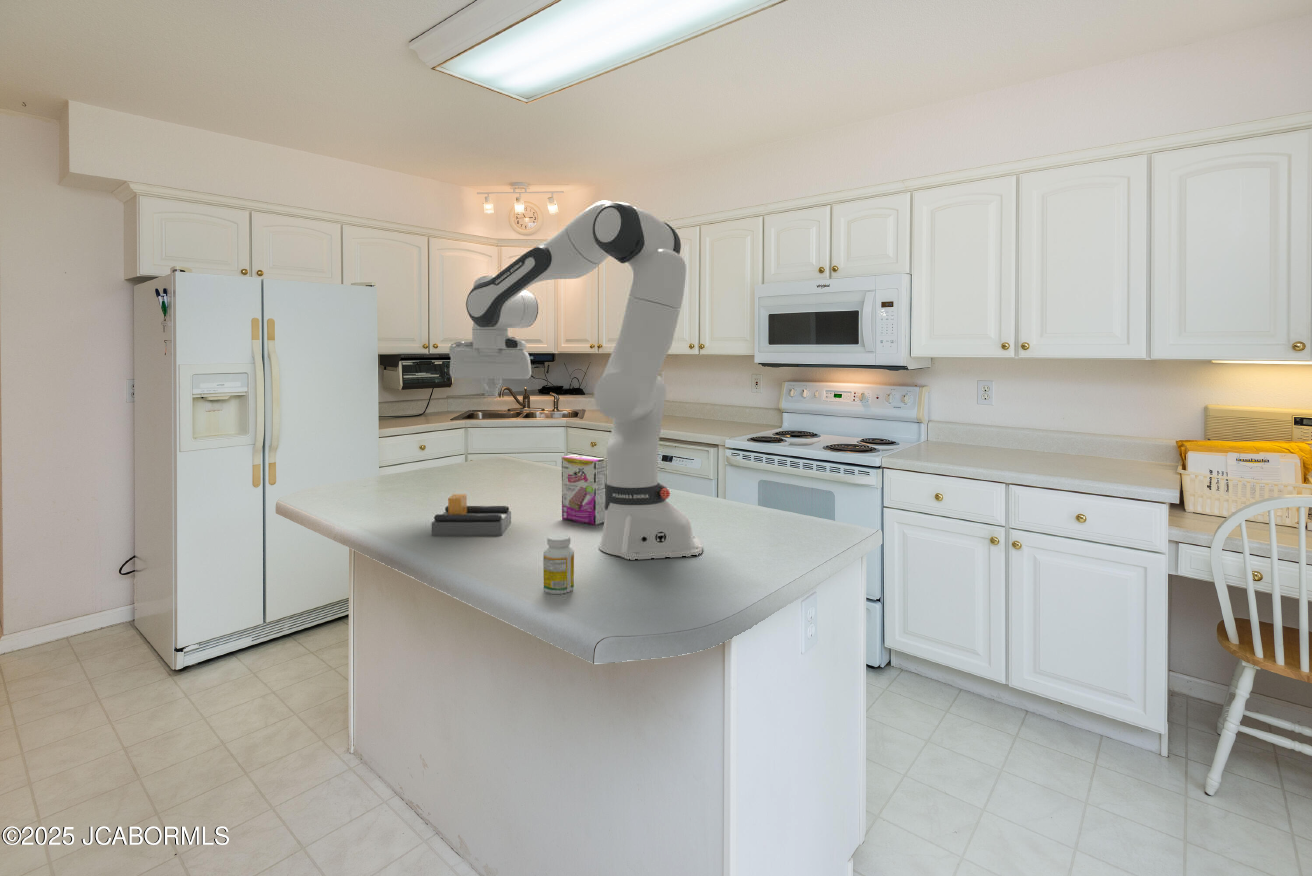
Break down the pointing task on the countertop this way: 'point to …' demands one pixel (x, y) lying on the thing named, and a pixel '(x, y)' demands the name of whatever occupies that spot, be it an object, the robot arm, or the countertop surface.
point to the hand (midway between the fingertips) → (491, 396)
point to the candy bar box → (583, 489)
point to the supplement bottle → (558, 565)
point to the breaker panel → (473, 521)
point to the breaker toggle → (457, 504)
